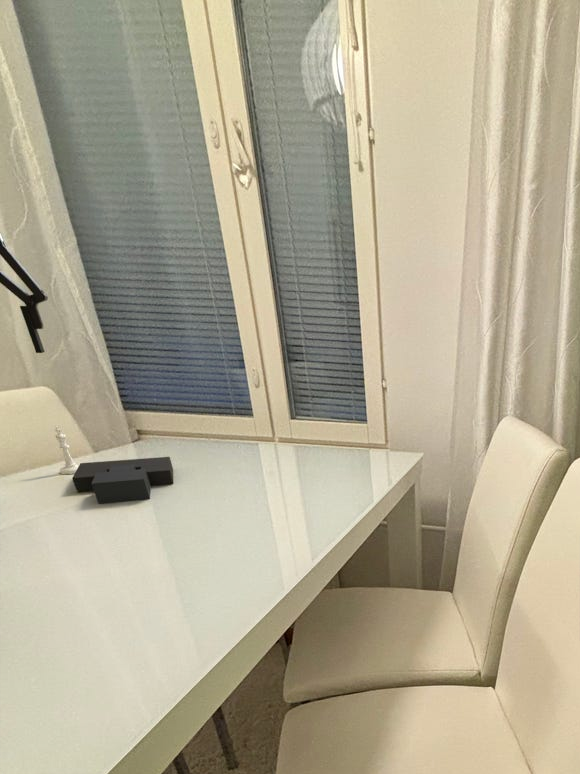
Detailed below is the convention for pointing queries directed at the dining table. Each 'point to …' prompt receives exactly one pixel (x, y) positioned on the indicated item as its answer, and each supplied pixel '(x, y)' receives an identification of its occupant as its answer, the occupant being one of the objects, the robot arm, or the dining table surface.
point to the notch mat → (155, 467)
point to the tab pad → (121, 484)
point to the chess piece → (65, 454)
